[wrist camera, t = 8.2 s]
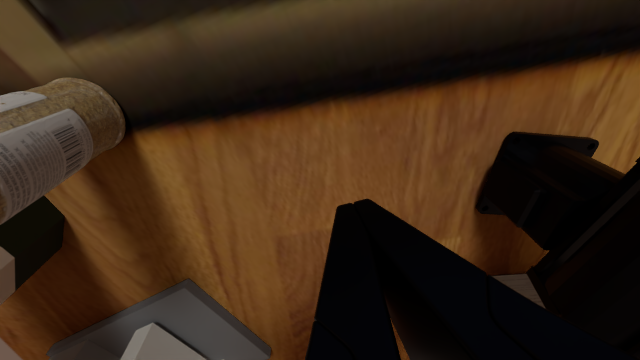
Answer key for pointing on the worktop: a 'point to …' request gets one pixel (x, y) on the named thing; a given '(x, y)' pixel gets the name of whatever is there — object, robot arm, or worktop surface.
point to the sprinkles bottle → (52, 137)
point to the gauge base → (168, 329)
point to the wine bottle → (28, 243)
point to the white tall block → (157, 346)
